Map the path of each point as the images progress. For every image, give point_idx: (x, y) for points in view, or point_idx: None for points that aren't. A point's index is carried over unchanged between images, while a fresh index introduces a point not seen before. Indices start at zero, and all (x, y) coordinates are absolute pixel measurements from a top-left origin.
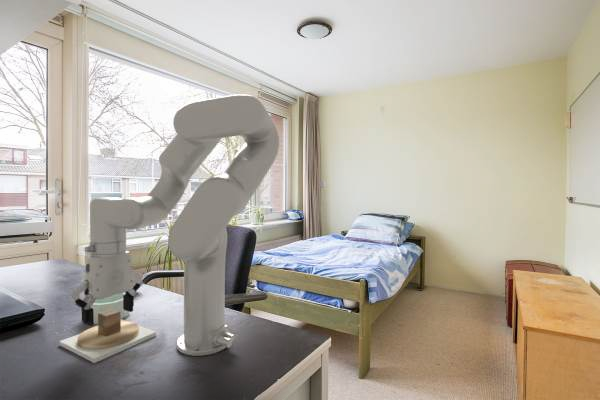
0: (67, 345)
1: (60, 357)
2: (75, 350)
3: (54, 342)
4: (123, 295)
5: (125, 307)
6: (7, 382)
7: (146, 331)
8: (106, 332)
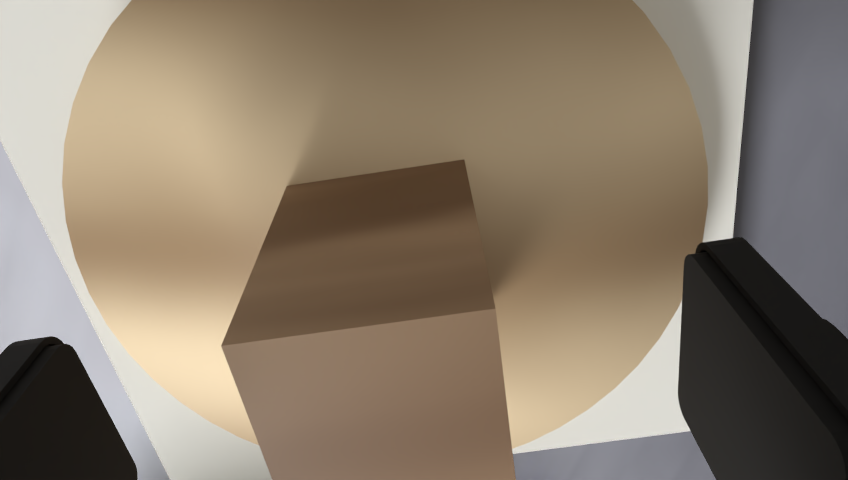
0: None
1: (822, 188)
2: (732, 176)
3: (692, 466)
4: None
5: (99, 472)
6: None
7: (6, 25)
8: (464, 181)
